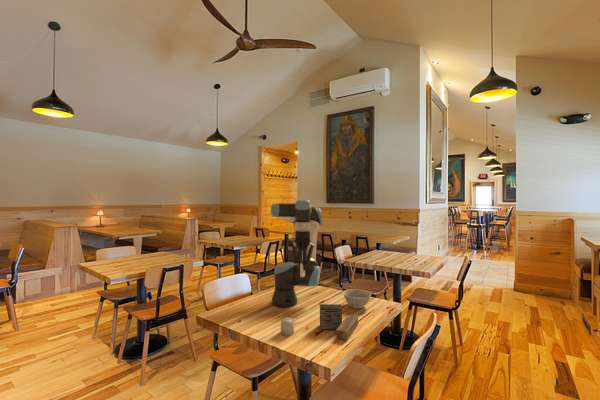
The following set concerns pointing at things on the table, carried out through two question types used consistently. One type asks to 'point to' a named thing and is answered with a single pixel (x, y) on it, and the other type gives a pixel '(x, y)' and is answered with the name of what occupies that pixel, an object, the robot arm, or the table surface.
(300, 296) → the table surface
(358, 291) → the bowl
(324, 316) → the small box
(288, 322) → the beige rounded piece
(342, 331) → the walnut rail
